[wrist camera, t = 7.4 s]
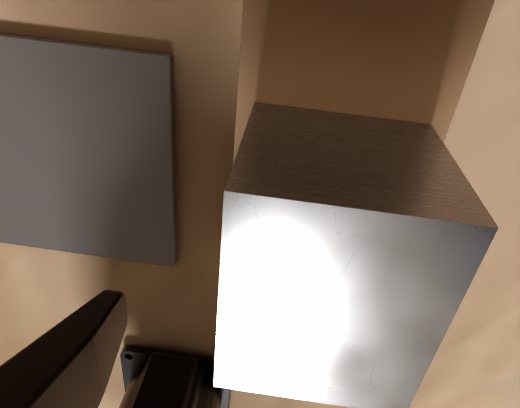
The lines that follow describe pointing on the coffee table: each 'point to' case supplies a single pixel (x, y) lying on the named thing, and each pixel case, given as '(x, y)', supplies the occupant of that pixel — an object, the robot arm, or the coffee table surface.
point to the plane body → (359, 57)
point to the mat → (87, 149)
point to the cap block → (341, 256)
